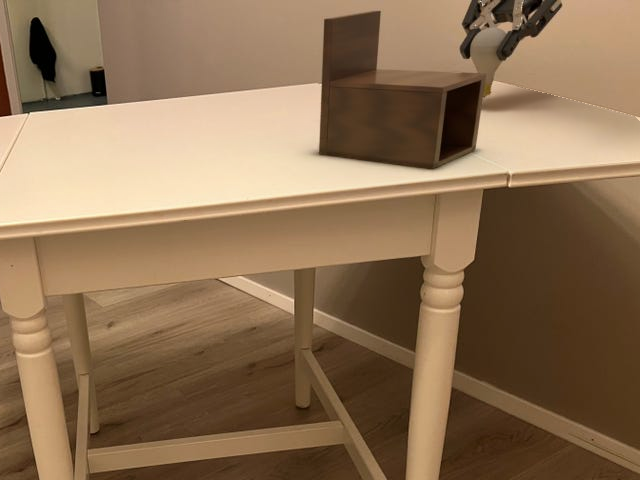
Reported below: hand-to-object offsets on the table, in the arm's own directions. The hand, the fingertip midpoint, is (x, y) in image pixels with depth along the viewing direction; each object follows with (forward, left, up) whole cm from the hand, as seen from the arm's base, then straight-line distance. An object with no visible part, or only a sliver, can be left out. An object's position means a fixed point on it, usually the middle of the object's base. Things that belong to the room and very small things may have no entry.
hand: (481, 56), depth 107 cm
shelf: (-4, +30, -8) cm, 32 cm away
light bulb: (0, -2, -6) cm, 7 cm away
